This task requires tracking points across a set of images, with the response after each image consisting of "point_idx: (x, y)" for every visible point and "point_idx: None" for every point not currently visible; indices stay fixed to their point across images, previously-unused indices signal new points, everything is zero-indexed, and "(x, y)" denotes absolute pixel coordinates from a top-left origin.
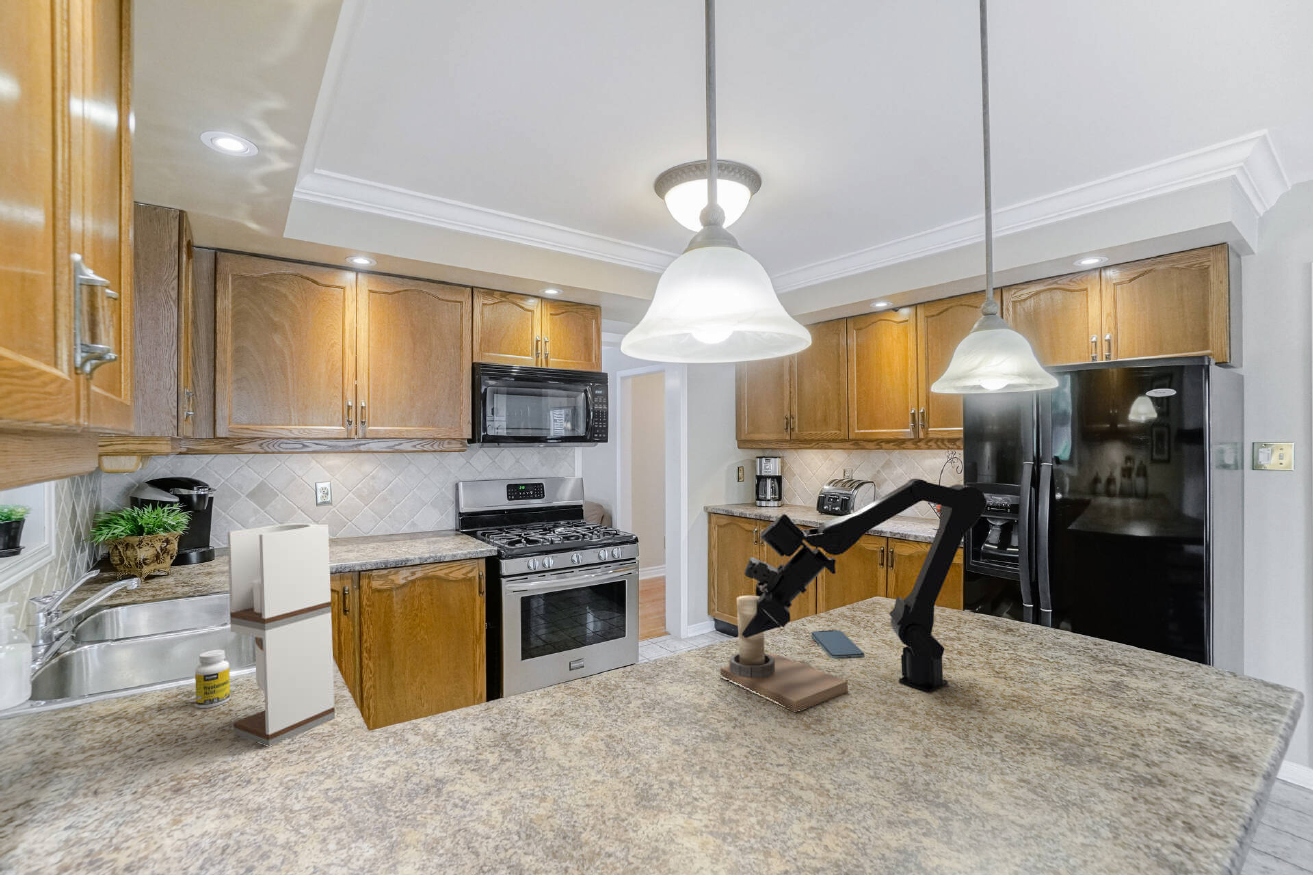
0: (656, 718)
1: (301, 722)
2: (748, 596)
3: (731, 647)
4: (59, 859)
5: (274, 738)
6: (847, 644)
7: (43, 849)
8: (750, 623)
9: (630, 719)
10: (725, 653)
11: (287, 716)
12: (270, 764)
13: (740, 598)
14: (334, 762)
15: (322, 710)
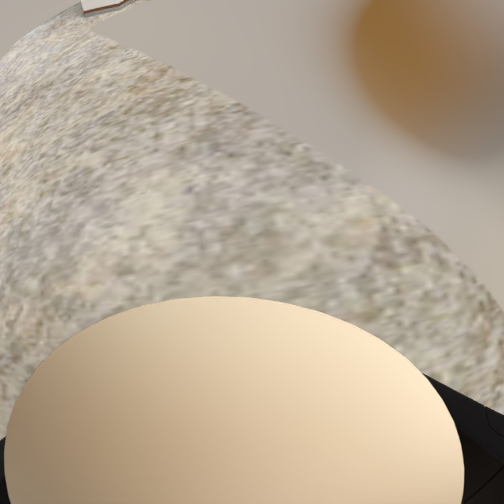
0: (31, 209)
1: (99, 8)
2: (401, 500)
3: (462, 297)
4: (15, 44)
5: (86, 13)
6: None
7: (24, 37)
8: (5, 439)
9: (38, 173)
10: (423, 290)
11: (90, 3)
12: (62, 29)
13: (217, 381)
14: (51, 43)
15: (110, 4)
